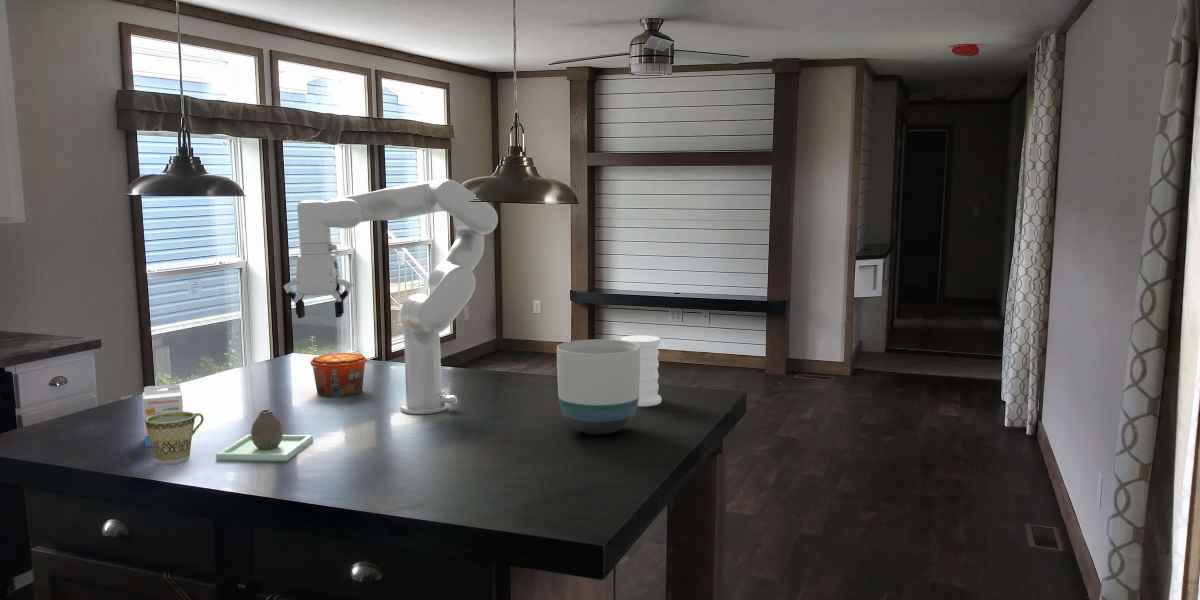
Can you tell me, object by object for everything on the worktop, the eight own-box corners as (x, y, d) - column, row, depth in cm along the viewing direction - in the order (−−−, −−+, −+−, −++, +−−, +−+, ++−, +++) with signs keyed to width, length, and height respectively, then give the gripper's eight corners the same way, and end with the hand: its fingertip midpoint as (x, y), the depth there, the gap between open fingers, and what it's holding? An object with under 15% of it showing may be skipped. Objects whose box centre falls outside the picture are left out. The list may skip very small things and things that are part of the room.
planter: (599, 417, 239) (599, 336, 236) (657, 431, 225) (657, 346, 222) (540, 431, 225) (539, 346, 222) (598, 448, 210) (597, 357, 208)
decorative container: (655, 407, 249) (655, 342, 246) (614, 404, 252) (614, 340, 250) (665, 398, 259) (666, 336, 257) (627, 395, 263) (627, 334, 261)
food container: (379, 390, 271) (378, 355, 270) (337, 401, 258) (336, 364, 256) (342, 384, 280) (340, 350, 278) (300, 394, 266) (298, 358, 265)
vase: (262, 453, 205) (260, 416, 204) (246, 448, 210) (243, 411, 209) (289, 447, 211) (287, 410, 210) (273, 441, 215) (271, 405, 214)
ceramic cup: (165, 470, 196) (162, 425, 195) (138, 462, 201) (135, 418, 200) (218, 454, 207) (216, 412, 206) (192, 448, 212) (189, 406, 211)
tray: (313, 441, 218) (312, 435, 217) (286, 461, 202) (286, 454, 202) (247, 440, 219) (247, 434, 218) (216, 460, 203) (215, 454, 202)
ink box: (145, 447, 213) (141, 391, 211) (144, 439, 220) (140, 385, 219) (185, 442, 217) (182, 388, 215) (183, 434, 224) (180, 381, 223)
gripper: (354, 247, 231) (358, 314, 234) (287, 249, 232) (292, 315, 234) (345, 250, 224) (349, 319, 226) (276, 251, 225) (281, 320, 227)
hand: (320, 317), depth 230 cm, fingers open, 9 cm apart
